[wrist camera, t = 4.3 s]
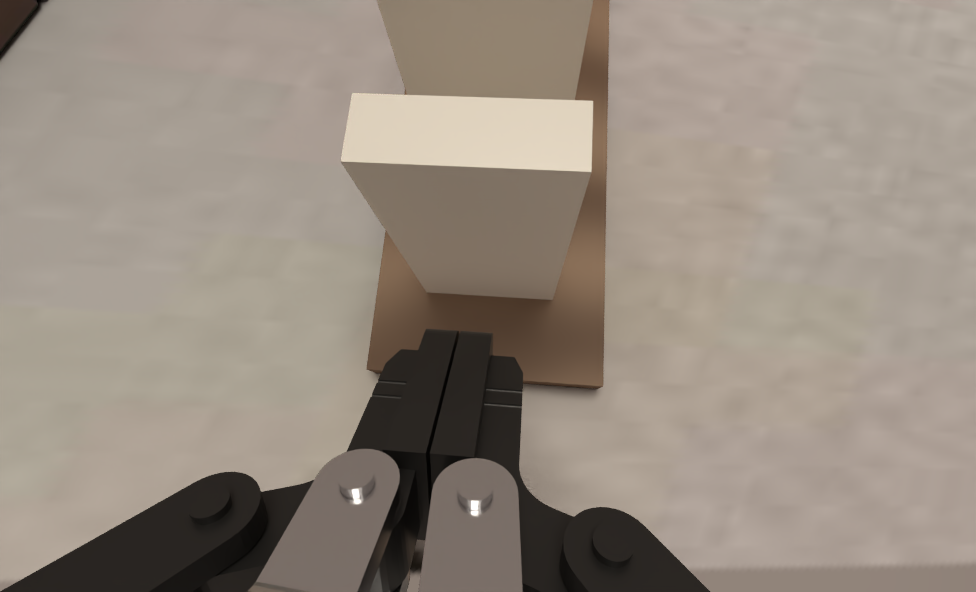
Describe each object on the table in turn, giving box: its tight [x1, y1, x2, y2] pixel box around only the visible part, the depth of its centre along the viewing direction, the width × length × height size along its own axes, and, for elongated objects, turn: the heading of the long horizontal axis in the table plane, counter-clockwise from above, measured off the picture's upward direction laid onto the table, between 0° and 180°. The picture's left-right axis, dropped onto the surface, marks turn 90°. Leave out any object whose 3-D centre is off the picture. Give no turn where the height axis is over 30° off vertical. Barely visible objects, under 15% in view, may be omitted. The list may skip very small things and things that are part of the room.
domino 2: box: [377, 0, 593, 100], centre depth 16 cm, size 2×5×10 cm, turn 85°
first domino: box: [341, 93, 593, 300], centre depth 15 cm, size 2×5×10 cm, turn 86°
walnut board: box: [367, 0, 609, 389], centre depth 23 cm, size 28×9×1 cm, turn 176°
